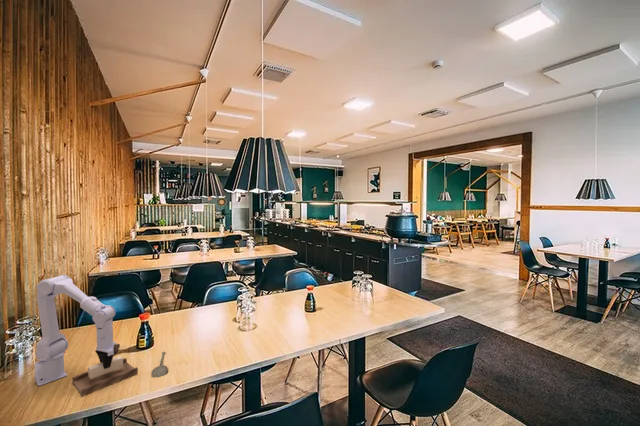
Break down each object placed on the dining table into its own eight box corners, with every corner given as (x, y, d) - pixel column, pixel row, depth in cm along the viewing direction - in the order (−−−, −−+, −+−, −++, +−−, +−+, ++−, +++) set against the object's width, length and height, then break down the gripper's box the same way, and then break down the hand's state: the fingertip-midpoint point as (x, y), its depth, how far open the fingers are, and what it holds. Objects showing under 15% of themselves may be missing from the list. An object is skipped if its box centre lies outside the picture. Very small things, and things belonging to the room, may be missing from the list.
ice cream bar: (115, 359, 148) (119, 346, 161) (115, 355, 147) (119, 342, 161) (102, 361, 145) (108, 348, 159) (101, 358, 145) (107, 345, 159)
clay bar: (90, 378, 125) (90, 369, 125) (88, 376, 127) (88, 367, 127) (123, 366, 135) (123, 357, 135) (120, 364, 137) (120, 355, 136)
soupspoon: (150, 381, 131) (167, 379, 133) (150, 374, 130) (167, 371, 133) (156, 355, 151) (171, 353, 153) (156, 349, 151) (171, 347, 153)
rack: (82, 396, 119) (81, 390, 119) (72, 383, 127) (72, 377, 127) (137, 373, 134) (137, 368, 134) (125, 363, 143) (125, 357, 143)
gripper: (121, 337, 129) (122, 368, 129) (109, 328, 138) (110, 357, 138) (102, 343, 123) (103, 375, 124) (91, 333, 132) (92, 363, 133)
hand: (105, 366), depth 131 cm, fingers closed on clay bar, 3 cm apart
